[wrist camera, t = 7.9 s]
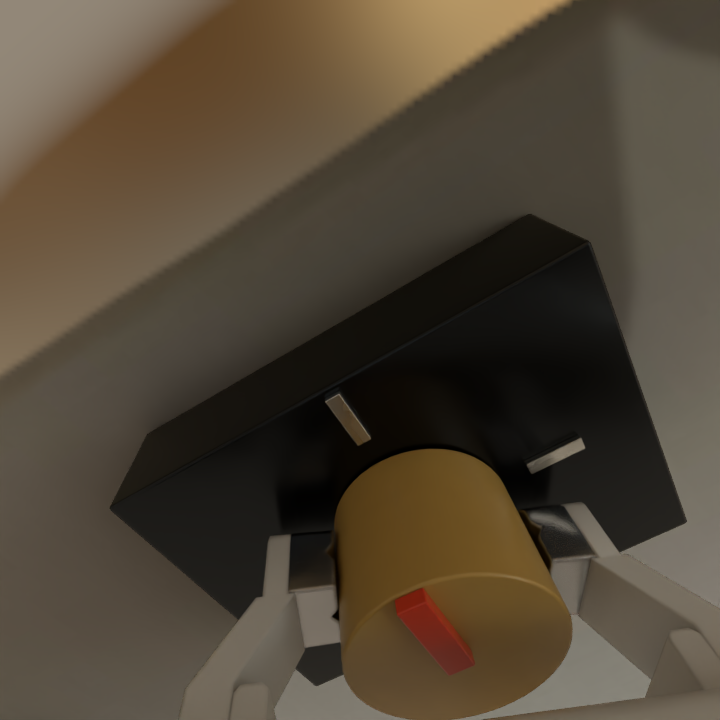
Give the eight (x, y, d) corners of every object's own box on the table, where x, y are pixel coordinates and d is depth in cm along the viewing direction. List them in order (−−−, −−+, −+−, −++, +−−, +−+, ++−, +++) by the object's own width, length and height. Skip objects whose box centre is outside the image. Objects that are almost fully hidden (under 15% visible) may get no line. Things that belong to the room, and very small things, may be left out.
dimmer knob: (531, 535, 13) (609, 685, 9) (385, 600, 14) (409, 762, 10) (466, 416, 11) (535, 552, 8) (300, 499, 12) (294, 658, 8)
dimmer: (529, 211, 12) (596, 241, 9) (625, 454, 16) (693, 527, 13) (145, 433, 14) (104, 514, 11) (315, 602, 18) (315, 693, 15)
